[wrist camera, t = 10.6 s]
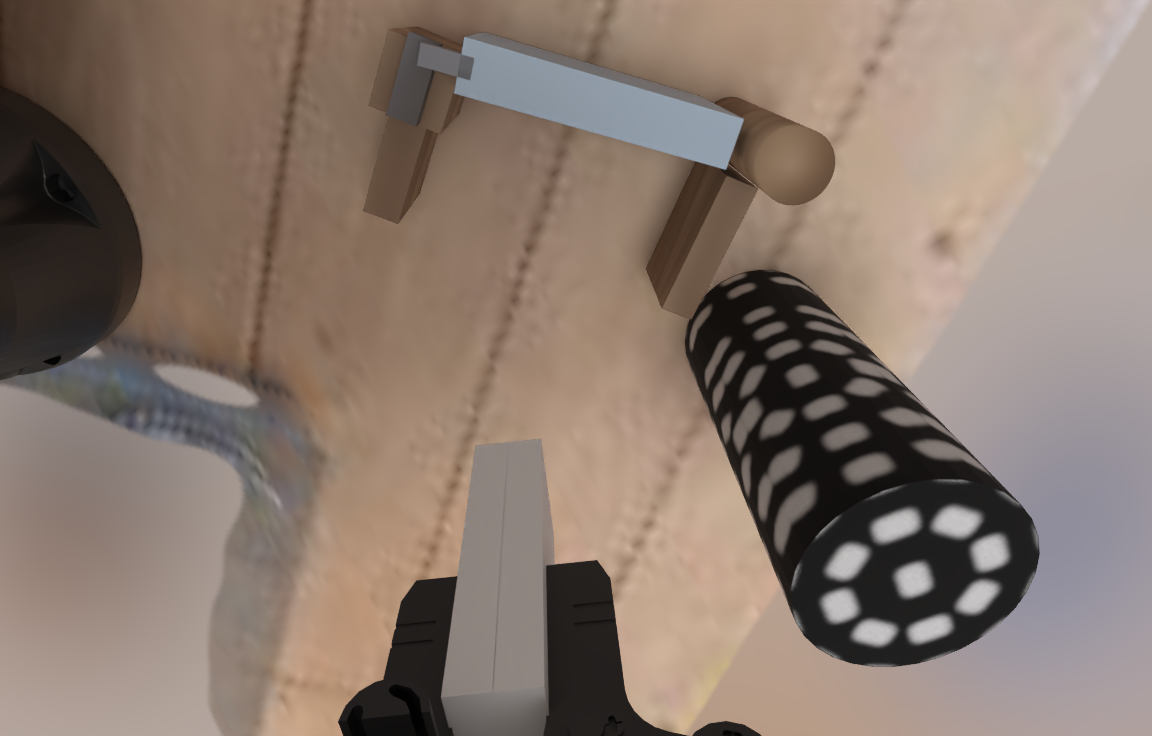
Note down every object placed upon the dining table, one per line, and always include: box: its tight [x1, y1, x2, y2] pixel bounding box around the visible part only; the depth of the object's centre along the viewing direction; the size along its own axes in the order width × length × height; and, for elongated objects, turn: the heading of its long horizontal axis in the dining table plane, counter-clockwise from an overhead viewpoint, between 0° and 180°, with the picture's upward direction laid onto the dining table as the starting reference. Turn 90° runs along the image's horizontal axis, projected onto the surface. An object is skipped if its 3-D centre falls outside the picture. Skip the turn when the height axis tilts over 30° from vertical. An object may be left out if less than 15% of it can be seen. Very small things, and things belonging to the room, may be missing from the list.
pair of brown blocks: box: [363, 27, 835, 319], centre depth 31 cm, size 17×10×11 cm, turn 68°
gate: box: [417, 32, 744, 170], centre depth 31 cm, size 12×2×9 cm, turn 75°
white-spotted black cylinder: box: [685, 270, 1039, 667], centre depth 32 cm, size 8×8×20 cm
